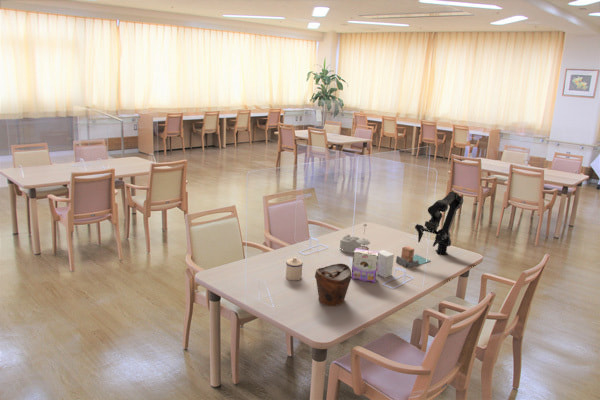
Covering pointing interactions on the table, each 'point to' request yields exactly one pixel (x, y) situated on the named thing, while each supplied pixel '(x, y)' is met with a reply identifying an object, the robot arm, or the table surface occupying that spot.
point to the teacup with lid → (294, 269)
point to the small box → (385, 263)
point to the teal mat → (420, 259)
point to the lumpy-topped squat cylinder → (349, 243)
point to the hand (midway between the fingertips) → (425, 244)
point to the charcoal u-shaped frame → (406, 262)
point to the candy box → (365, 265)
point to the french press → (363, 242)
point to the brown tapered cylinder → (333, 283)
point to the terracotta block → (407, 253)
